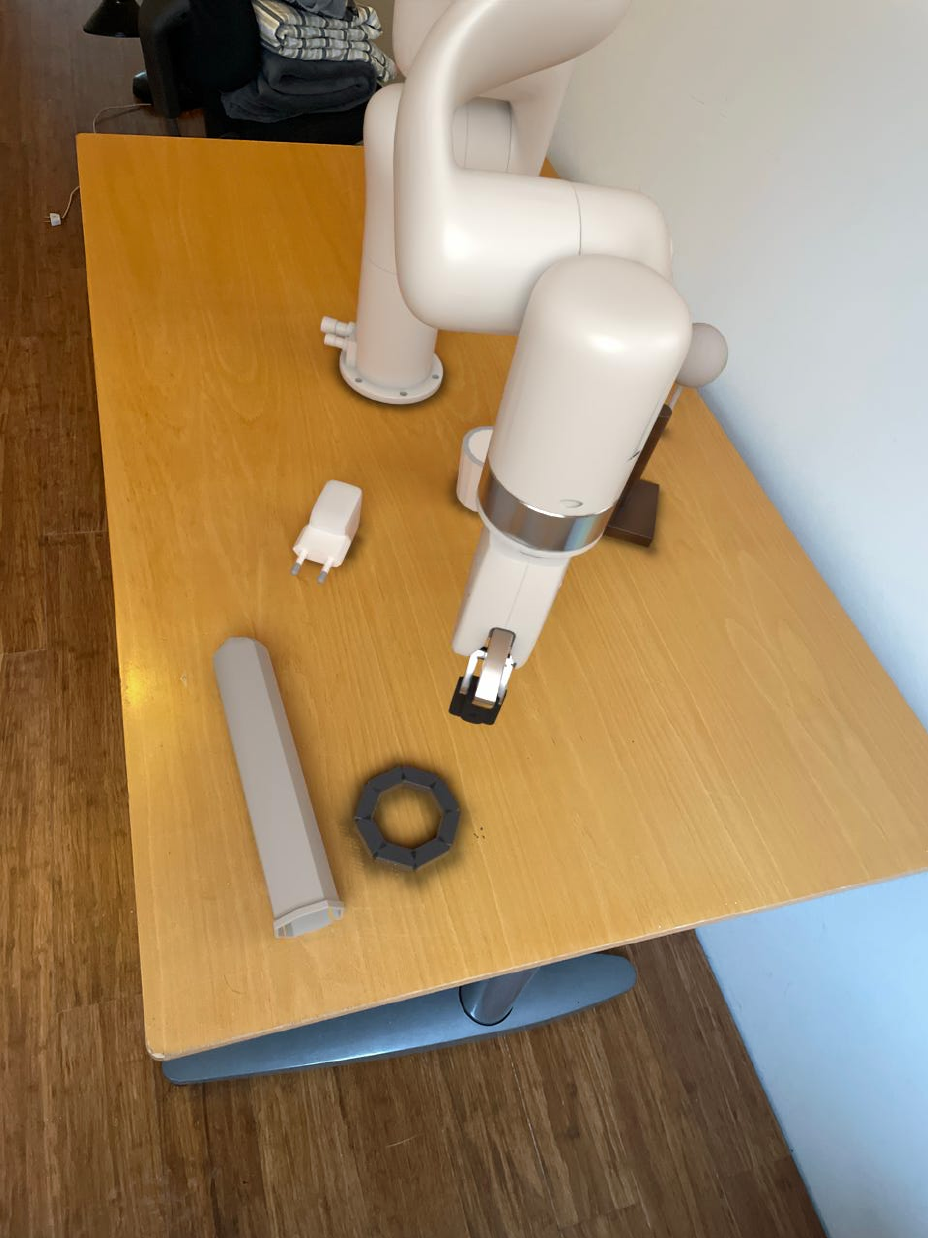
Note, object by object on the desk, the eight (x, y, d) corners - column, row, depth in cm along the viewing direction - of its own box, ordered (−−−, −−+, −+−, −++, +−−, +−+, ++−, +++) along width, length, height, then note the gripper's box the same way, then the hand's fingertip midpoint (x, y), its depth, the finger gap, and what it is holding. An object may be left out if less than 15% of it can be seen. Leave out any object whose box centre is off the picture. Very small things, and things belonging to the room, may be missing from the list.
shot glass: (518, 485, 92) (534, 439, 87) (500, 526, 88) (515, 479, 83) (462, 464, 93) (474, 416, 87) (442, 503, 88) (453, 455, 83)
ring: (342, 854, 64) (344, 847, 63) (372, 763, 69) (374, 756, 68) (442, 883, 64) (445, 877, 63) (465, 790, 69) (468, 783, 68)
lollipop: (684, 457, 101) (739, 356, 89) (629, 441, 100) (676, 337, 89) (686, 421, 105) (738, 320, 93) (633, 405, 105) (679, 302, 93)
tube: (194, 639, 68) (262, 932, 56) (255, 616, 69) (335, 901, 56) (219, 668, 73) (286, 943, 60) (275, 646, 73) (353, 915, 61)
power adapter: (329, 607, 78) (332, 569, 73) (280, 592, 78) (281, 553, 73) (365, 527, 84) (370, 487, 80) (320, 513, 84) (323, 472, 80)
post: (571, 524, 90) (614, 424, 79) (581, 471, 96) (623, 370, 84) (648, 547, 90) (703, 450, 79) (654, 493, 96) (706, 395, 84)
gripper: (509, 379, 50) (460, 558, 64) (446, 587, 39) (403, 749, 53) (626, 413, 50) (552, 585, 64) (595, 630, 40) (514, 780, 53)
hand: (484, 659), depth 58 cm, fingers open, 9 cm apart
